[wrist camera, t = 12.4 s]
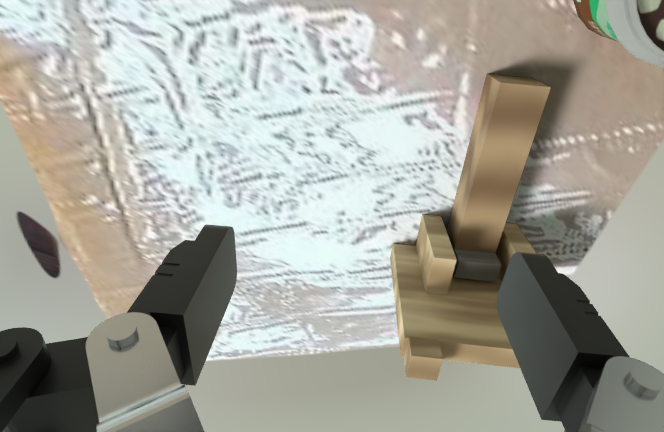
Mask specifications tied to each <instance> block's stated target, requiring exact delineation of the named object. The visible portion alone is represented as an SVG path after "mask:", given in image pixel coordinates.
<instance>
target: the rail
mask: <svg viewBox="0 0 664 432" xmlns="http://www.w3.org/2000/svg"><path fill="white" fill-rule="evenodd" d="M550 89H551V87H549V86H547V85H545V84H543V83H541V82H539V81H537V80H535V79H533V78H526V77H515V76H505V75H494V74H487V76H486V80H485V83H484V87H483V91H482V95H481V99H480V103H479V107H478V111H477V115H476V119H475V123H474V127H473V130H472V134H471V138H470V142H469V146H468V150H467V154H466V158H465V162H464V166H463V170H462V174H461V177H460V181H459V185H458V189H457V193H456V197H455V201H454V205H453V209H452V213H451V217H450V221H449V224H448V228H447V234H448V237H449V240H450V242H451V245H452V248H453V251H454V254H455V256H456V259H457V261H456V264H455V268H454V271H453V275H454V278H463V279H473V280H483V281H492V282H496V279H497V277H498V274H499V271H500V268H501V263H500V261H499V259H498V257H497V255H496V250H497V247H498V244H499V241H500V238H501V235H502V232H503V229H504V226H505V223H506V220H507V217H508V214H509V211H510V208H511V205H512V202H513V199H514V196H515V193H516V190H517V187H518V184H519V181H520V178H521V175H522V172H523V169H524V166H525V163H526V160H527V157H528V154H529V151H530V148H531V145H532V142H533V139H534V136H535V133H536V130H537V127H538V124H539V121H540V118H541V115H542V112H543V110H544V107H545V104H546V101H547V98H548V95H549V92H550Z"/></svg>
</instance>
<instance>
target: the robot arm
mask: <svg viewBox="0 0 664 432" xmlns="http://www.w3.org/2000/svg"><path fill="white" fill-rule="evenodd" d="M236 278H237V264H236V251H235V237H234V230H233V228H232V227H228V226H217V225H205V226H204V227H203V229H202V230H201V232H200V233H199V235H198V236H197V238H196V240H195V241H189V240H185V241H183V242H182V243H180V244H179V245H177V246H176V247H174V248H173V249H172V250H170V252H169V253H168V255H167V256H166V257H165V259H164V260H163V262H162V265H160V266H159V267H158V269H157V270H156V272H155V275H153V276H152V277H151V279H150V280H149V282H148V283H147V285H146V286H145V287H144V289H143V290H142V292H141V293H140V295H139V296H138V297H137V299H136V300H135V302H134V303H133V305H132V306H131V307H130V309H129V310H128V312H127V313H124V314H120V315H116V316H114V317H111V318H109V319H107V320H105V321H104V322H102V323H101V324H99V325H98V326H97V327H96V328H95V329H94V330H93V331H92V332H91V334H90V335H89V336H88V337H86V338H80V339H74V340H68V341H62V342H55V343H49V344H45V341H44V339H43V337H42V335H41V334H40V333H39V332H38V331H37V330H35V329H31V328H12V329H8V330H4V331H1V332H0V432H204V430H203V427H202V425H201V422H200V420H199V417H198V415H197V412H196V410H195V408H194V405H193V403H192V400H191V398H190V396H189V393H188V391H187V389H186V387H185V385H183V386H182V385H181V384H186V385H196V383H197V380H198V378H199V375H200V373H201V370H202V368H203V365H204V363H205V360H206V358H207V355H208V353H209V351H210V348H211V346H212V343H213V341H214V338H215V336H216V333H217V331H218V328H219V326H220V323H221V321H222V318H223V316H224V314H225V311H226V309H227V306H228V304H229V301H230V299H231V296H232V294H233V291H234V288H235V284H236ZM589 302H590V301H589V300H588V298H587V297H586V295H585V294H584V292H583V291H582V290H581V288H580V287H579V286H578V285H577V284H575V283H574V282H573V281H572V280H570V279H569V278H568V277H567V276H565V275H564V274H560V273H558V272H557V271H556V269H555V268H554V266H553V265H552V263H551V262H550V260H549V259H548V258H547V256H546V255H544V254H533V253H522V252H516V253H514V254H513V255H512V257H511V259H510V262H509V265H508V267H507V270H506V273H505V276H504V279H503V281H502V284H501V287H500V290H499V293H498V296H497V311H498V315H499V317H500V320H501V322H502V325H503V327H504V330H505V332H506V334H507V337H508V339H509V342H510V344H511V347H512V349H513V351H514V354H515V356H516V359H517V361H518V364H519V366H520V368H521V370H522V373H523V375H524V378H525V380H526V383H527V385H528V387H529V390H530V392H531V395H532V397H533V400H534V402H535V404H536V407H537V410H538V412H539V414H540V417H541V419H542V420H552V421H561V422H562V424H563V426H564V428H565V431H564V432H664V374H663V373H662V372H660V371H659V370H657V369H656V368H654V367H653V366H650V365H649V364H647V363H645V362H642V361H640V360H637V359H634V358H630V357H629V355H628V354H627V353H626V351H625V350H624V348H623V347H622V346H621V344H620V343H619V342H618V340H617V339H616V337H615V336H614V334H613V333H612V332H611V330H610V329H609V327H608V326H607V325H606V323H605V322H604V320H603V319H602V318H601V316H598V312H597V311H596V309H595V308H594V306H593V305H592V304H590V303H589Z"/></svg>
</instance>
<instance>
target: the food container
mask: <svg viewBox="0 0 664 432" xmlns="http://www.w3.org/2000/svg"><path fill="white" fill-rule="evenodd" d="M573 1H574V4H575V8H576V11H577V14H578V17H579V18H580V19H581V20H582V22H583V23H584V24H585V25H586V27H587V28H588V29H589V30H591V31H593V32H595V33H597V34H599V35H601V36H604V37H607V38H609V39H612V40H615V41H618V42H620V43H621V44H622V45H623V46H624V47H625V48H626V50H627V51H628V52H630V53H631V54H632V55H634V56H635V57H636V58H638V59H640V60H642V61H644V62H646V63H649V64H652V65H656V66H660V67H664V0H573Z"/></svg>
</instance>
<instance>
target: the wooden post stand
mask: <svg viewBox="0 0 664 432" xmlns="http://www.w3.org/2000/svg"><path fill="white" fill-rule="evenodd" d="M516 252H522V253H533V254H537V253H536V252H535V250H534V249H533V247H532V246H531V244H530V243H529V241H528V240H527V238H526V237H525V235H524V234H523V232H522V231H521V229H520V228H519V226H518V225H517V224H511V223H505V226H504V229H503V232H502V235H501V238H500V241H499V244H498V247H497V250H496V255H497V257H498V259H499V261H500V263H501V268H500V271H499V274H498V277H497V279H496V282H492V281H483V280H473V279H463V278H454V275H453V271H454V268H455V264H456V261H457V259H456V256H455V254H454V251H453V248H452V245H451V242H450V240H449V237H448V234H447V231H446V228H445V226H444V223H443V220H442V217H441V216H433V215H423V214H422V218H421V223H420V228H419V232H418V237H417V241H416V246H412V245H403V244H393V246H392V252H391V257H390V260H391V269H392V279H393V288H394V297H395V307H396V316H397V326H398V335H399V344H400V353H401V355H404V363H405V371H406V377H410V378H418V379H428V380H437V377H438V374H439V371H440V367H441V364H442V361H443V360H451V361H460V362H470V363H478V364H488V365H496V366H497V365H498V366H507V367H515V368H520V366H519V364H518V361H517V359H516V356H515V354H514V351H513V349H512V347H511V344H510V342H509V339H508V337H507V334H506V332H505V330H504V327H503V325H502V322H501V320H500V317H499V315H498V311H497V296H498V293H499V290H500V287H501V284H502V281H503V279H504V276H505V273H506V270H507V267H508V265H509V262H510V259H511V257H512V255H513V254H514V253H516Z"/></svg>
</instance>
